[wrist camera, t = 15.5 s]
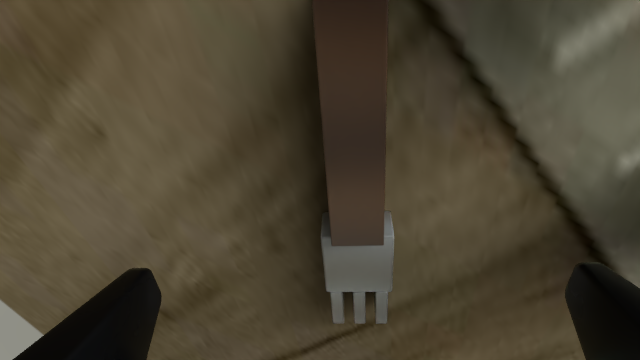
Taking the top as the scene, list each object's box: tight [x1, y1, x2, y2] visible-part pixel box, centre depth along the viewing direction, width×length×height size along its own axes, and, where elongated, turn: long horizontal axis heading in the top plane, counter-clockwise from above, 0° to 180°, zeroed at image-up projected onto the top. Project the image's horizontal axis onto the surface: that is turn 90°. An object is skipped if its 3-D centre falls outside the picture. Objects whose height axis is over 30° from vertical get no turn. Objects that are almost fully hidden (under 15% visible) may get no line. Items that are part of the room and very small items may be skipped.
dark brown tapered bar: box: [312, 0, 394, 324], centre depth 17 cm, size 16×3×2 cm, turn 4°
